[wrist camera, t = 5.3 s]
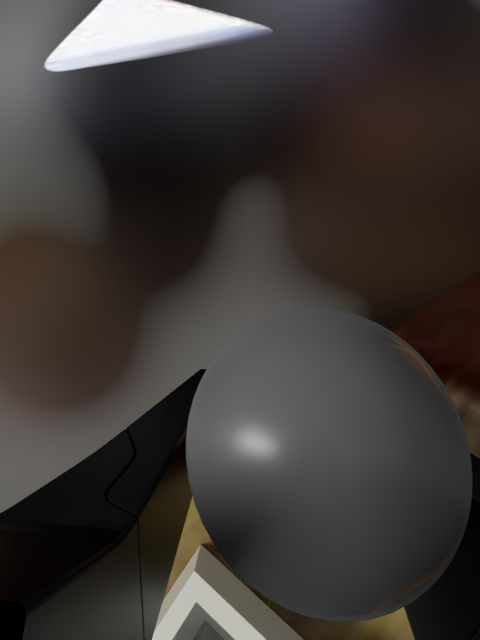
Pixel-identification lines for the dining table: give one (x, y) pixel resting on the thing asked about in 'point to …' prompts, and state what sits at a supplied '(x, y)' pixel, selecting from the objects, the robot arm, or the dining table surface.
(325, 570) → the plug
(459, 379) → the dining table surface
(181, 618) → the socket box
